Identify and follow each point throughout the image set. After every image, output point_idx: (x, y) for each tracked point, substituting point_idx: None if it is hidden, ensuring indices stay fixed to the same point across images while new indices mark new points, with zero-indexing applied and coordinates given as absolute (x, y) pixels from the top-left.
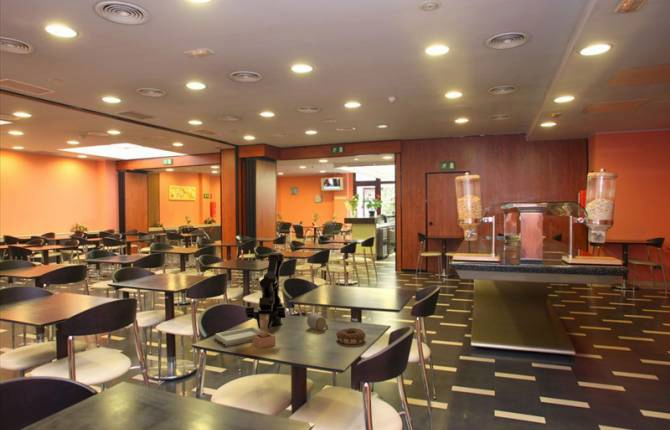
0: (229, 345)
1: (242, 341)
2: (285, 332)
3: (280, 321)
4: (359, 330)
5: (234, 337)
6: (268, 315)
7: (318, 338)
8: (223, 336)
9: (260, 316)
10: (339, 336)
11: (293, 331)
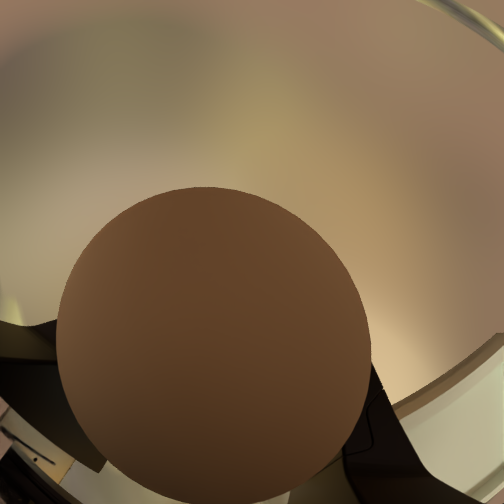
0: (488, 340)
1: (424, 391)
2: (114, 496)
3: None
4: None
5: (451, 464)
6: (68, 305)
7: (8, 322)
8: (489, 473)
9: (345, 282)
10: None
11: (79, 484)
